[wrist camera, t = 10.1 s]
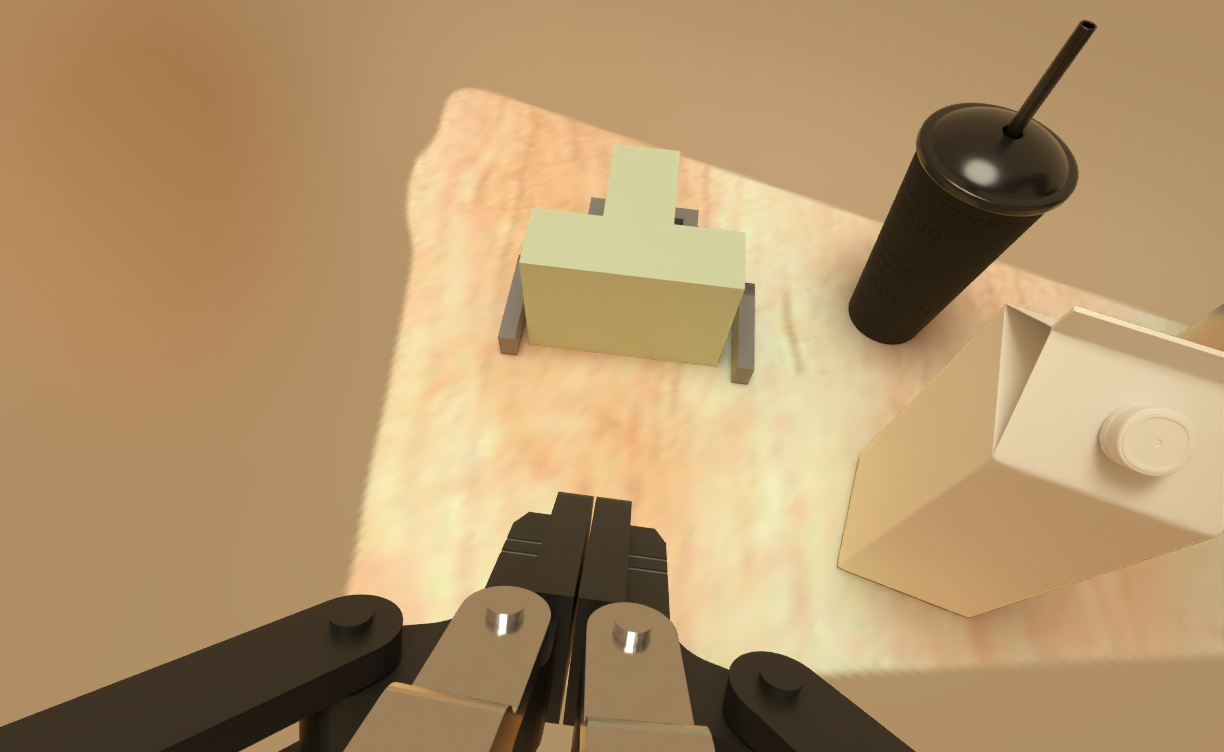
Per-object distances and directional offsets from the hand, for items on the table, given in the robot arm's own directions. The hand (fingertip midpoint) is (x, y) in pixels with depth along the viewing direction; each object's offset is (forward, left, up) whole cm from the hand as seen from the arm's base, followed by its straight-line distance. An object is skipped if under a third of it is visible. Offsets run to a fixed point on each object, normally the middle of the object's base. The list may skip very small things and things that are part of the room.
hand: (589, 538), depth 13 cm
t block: (0, -23, -21) cm, 31 cm away
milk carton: (-17, -9, -21) cm, 29 cm away
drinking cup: (-17, -24, -21) cm, 36 cm away
